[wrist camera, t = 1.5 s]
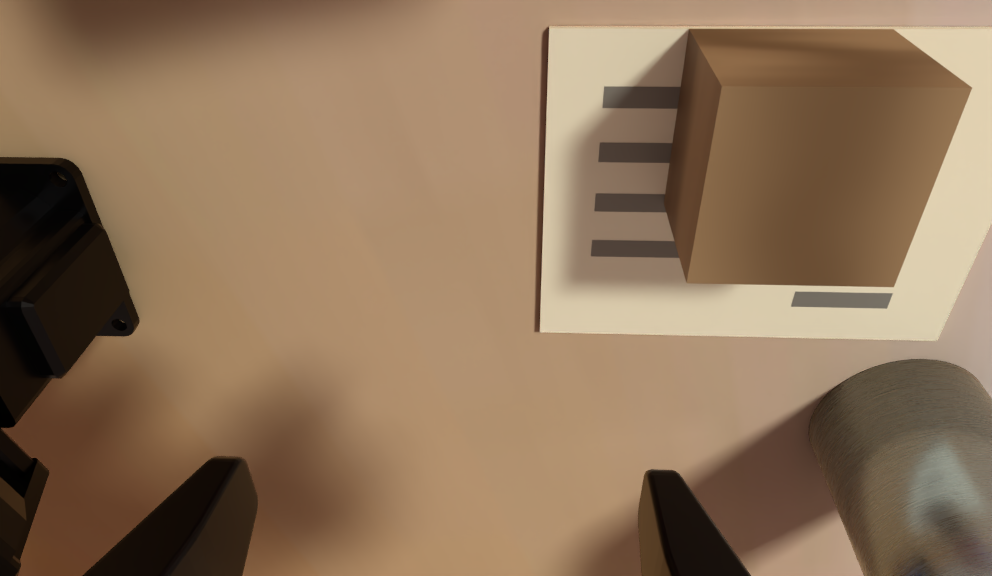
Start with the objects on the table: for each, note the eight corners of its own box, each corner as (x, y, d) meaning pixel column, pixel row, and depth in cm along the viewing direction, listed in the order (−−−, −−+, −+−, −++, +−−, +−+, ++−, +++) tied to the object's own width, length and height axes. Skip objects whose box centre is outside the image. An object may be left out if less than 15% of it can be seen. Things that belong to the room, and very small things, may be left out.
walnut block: (663, 203, 21) (686, 283, 18) (689, 28, 18) (722, 86, 15) (838, 206, 21) (893, 287, 17) (893, 28, 18) (972, 87, 14)
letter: (539, 328, 24) (539, 332, 24) (549, 25, 18) (549, 28, 18) (934, 336, 23) (937, 341, 23) (1076, 26, 18) (1081, 29, 17)
